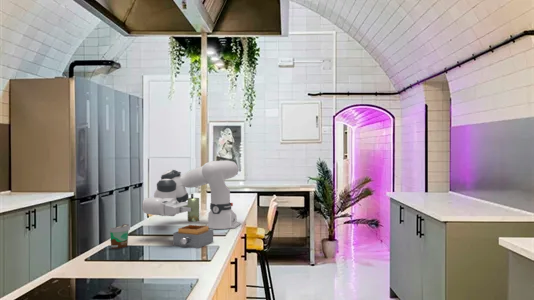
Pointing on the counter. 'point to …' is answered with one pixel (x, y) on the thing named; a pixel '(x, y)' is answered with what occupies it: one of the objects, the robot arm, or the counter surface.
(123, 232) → the food container
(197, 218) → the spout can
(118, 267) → the counter surface
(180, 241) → the grey drawer box
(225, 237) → the counter surface
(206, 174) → the robot arm
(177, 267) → the counter surface
